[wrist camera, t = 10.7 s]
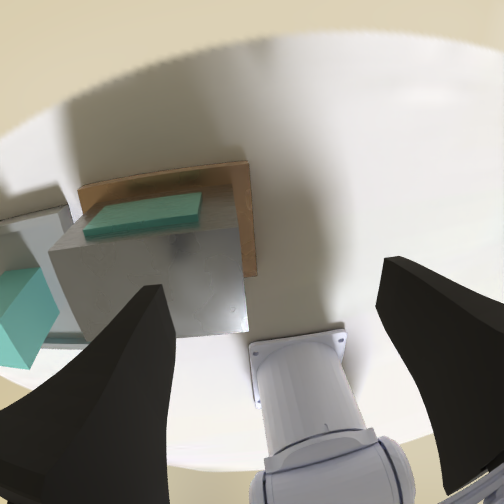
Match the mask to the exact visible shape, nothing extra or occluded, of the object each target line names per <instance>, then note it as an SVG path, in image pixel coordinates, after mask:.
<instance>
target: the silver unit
mask: <svg viewBox="0 0 504 504" xmlns="http://www.w3.org/2000/svg"><path fill="white" fill-rule="evenodd" d="M77 191H78V195H79V199H80V203H81V207H82V211H83V215H82V216H81V217H80V218H79V219H78V220H77V221H76V222H75V223H74V224H73V225H72V226H71V227H70V228H69V229H68V230H67V231H66V232H65V233H64V234H63V235H62V236H61V238H60V239H59V240H58V241H57V242H56V243H55V244H54V245H53V246H52V247H51V248H50V249H49V250H48V251H47V252H48V255H49V257H50V260H51V263H52V265H53V268H54V271H55V273H56V276H57V278H58V281H59V283H60V286H61V288H62V290H63V293H64V295H65V297H66V300H67V302H68V304H69V306H70V309H71V311H72V313H73V315H74V317H75V319H76V321H77V323H78V325H79V327H80V329H81V331H82V333H83V335H84V337H85V339H86V341H87V342H92V341H93V340H94V339H95V337H96V336H97V335H98V334H99V333H100V332H101V331H102V330H103V329H104V328H105V327H106V326H107V325H108V324H109V323H110V322H111V321H112V320H113V319H114V317H115V316H116V315H117V314H118V313H119V312H120V311H121V310H122V309H123V307H124V306H125V305H126V304H127V303H128V302H129V301H130V300H131V298H132V297H133V296H134V295H135V294H136V293H137V292H138V291H139V290H140V289H141V288H142V287H143V286H146V285H156V284H162V286H163V289H164V293H165V297H166V300H167V304H168V308H169V311H170V315H171V318H172V321H173V325H174V328H175V331H176V338H186V337H198V336H210V335H220V334H230V333H240V332H248V331H249V326H248V316H247V306H246V296H245V286H244V277H253V276H257V266H256V252H255V238H254V224H253V210H252V197H251V183H250V169H249V163H248V161H238V162H227V163H218V164H209V165H201V166H193V167H185V168H178V169H171V170H164V171H158V172H151V173H145V174H139V175H133V176H128V177H122V178H117V179H112V180H107V181H102V182H97V183H92V184H87V185H84V186H82V187H81V188H79V189H78V190H77Z"/></svg>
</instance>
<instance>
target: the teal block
mask: <svg viewBox="0 0 504 504" xmlns="http://www.w3.org/2000/svg"><path fill="white" fill-rule="evenodd" d="M59 313H60V311H59V309H58V307H57V305H56V303H55V301H54V298H53V296H52V294H51V291H50V289H49V287H48V284H47V282H46V280H45V277H44V275H43V272H42V270H41V267H36V268H28V269H19V270H11V271H5V272H4V273H3V274H2V275H1V276H0V366H6V367H13V368H20V369H28V370H30V368H31V366H32V364H33V362H34V360H35V358H36V356H37V354H38V352H39V350H40V348H41V346H42V344H43V342H44V340H45V338H46V337H47V335H48V333H49V331H50V329H51V327H52V326H53V324H54V322H55V320H56V319H57V317H58V315H59Z"/></svg>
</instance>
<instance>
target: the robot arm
mask: <svg viewBox="0 0 504 504" xmlns="http://www.w3.org/2000/svg"><path fill="white" fill-rule="evenodd" d="M375 307H376V309H377V312H378V314H379V317H380V319H381V322H382V324H383V326H384V328H385V331H386V332H387V334H388V336H389V337H390V339H391V341H392V343H393V344H394V346H395V348H396V349H397V351H398V353H399V355H400V356H401V358H402V360H403V361H404V363H405V365H406V367H407V368H408V370H409V372H410V374H411V375H412V377H413V379H414V381H415V383H416V385H417V387H418V389H419V392H420V394H421V397H422V399H423V402H424V405H425V407H426V410H427V413H428V416H429V419H430V422H431V426H432V429H433V432H434V436H435V440H436V444H437V448H438V453H439V458H440V464H441V471H442V479H443V487H444V489H445V492H446V494H447V495H448V496H449V495H450V494H452V493H454V492H456V491H458V490H459V489H461V488H463V487H464V486H466V485H468V484H469V483H471V482H472V481H474V480H476V479H477V478H479V477H480V476H482V475H483V474H485V473H486V472H488V471H489V473H488V474H487V475H485V476H484V477H482V478H481V479H479V480H478V481H476V482H475V483H473V484H471V485H470V486H469V487H467V488H465V489H463V490H462V491H460V492H458V493H456V494H455V495H453V496H451V497H449V498H447V499H446V500H444V501H442V502H440V503H438V504H477V503H478V502H480V501H481V500H483V499H484V498H485V499H484V502H483V504H504V304H503V303H501V302H498V301H495V300H493V299H490V298H488V297H485V296H483V295H481V294H479V293H476V292H474V291H472V290H470V289H468V288H466V287H464V286H462V285H460V284H458V283H456V282H454V281H452V280H450V279H448V278H446V277H444V276H442V275H440V274H438V273H436V272H434V271H432V270H430V269H428V268H426V267H424V266H422V265H420V264H418V263H416V262H413V261H411V260H409V259H406V258H404V257H401V256H395V257H388V258H384V263H383V269H382V275H381V280H380V286H379V291H378V296H377V301H376V306H375ZM346 339H347V332H346V330H345V329H338V330H332V331H327V332H321V333H315V334H309V335H302V336H296V337H289V338H282V339H275V340H267V341H259V342H253V343H251V344H250V345H249V355H250V364H251V373H252V381H253V390H254V398H255V406H256V408H257V409H262V414H263V420H264V427H265V433H266V440H267V446H268V452H269V457H267V458H264V464H265V470H264V471H259V472H257V473H256V475H255V477H254V479H253V480H252V481H251V483H250V488H249V503H250V504H414V499H415V494H416V490H415V482H414V477H413V473H412V470H411V467H410V464H409V461H408V459H407V457H406V455H405V453H404V451H403V449H402V448H401V446H400V445H399V444H398V443H397V442H396V441H394V440H392V439H390V438H389V437H387V436H382V437H379V438H377V437H376V434H375V432H374V429H373V428H368V429H367V427H366V425H365V422H364V420H363V417H362V415H361V412H360V409H359V407H358V404H357V402H356V399H355V397H354V394H353V392H352V390H351V387H350V385H349V382H348V380H347V377H346V375H345V372H344V370H343V368H342V360H343V355H344V350H345V345H346ZM255 352H256V353H255ZM175 354H176V331H175V328H174V325H173V321H172V318H171V315H170V311H169V308H168V304H167V300H166V297H165V293H164V289H163V286H162V284H156V285H146V286H143V287H142V288H141V289H140V290H139V291H138V292H137V293H136V294H135V295H134V296H133V297H132V298H131V300H130V301H129V302H128V303H127V304H126V305H125V306H124V307H123V309H122V310H121V311H120V312H119V313H118V314H117V315H116V316H115V317H114V319H113V320H112V321H111V322H110V323H109V324H108V325H107V326H106V327H105V328H104V329H103V330H102V331H101V332H100V333H99V334H98V335H97V336H96V337H95V339H94V340H93V341H92V342H91V343H90V344H89V345H88V346H87V347H86V348H85V349H84V350H83V351H82V352H80V353H79V354H78V355H77V356H76V357H75V358H74V359H73V360H72V361H70V362H69V363H68V364H67V365H66V366H65V367H64V368H62V369H61V370H60V371H59V372H57V373H56V374H55V375H53V376H52V377H51V378H49V379H48V380H47V381H45V382H44V383H43V384H41V385H40V386H39V387H37V388H36V389H35V390H33V391H32V392H30V393H29V394H27V395H26V396H24V397H23V398H21V399H19V400H18V401H16V402H14V403H13V404H11V405H9V406H8V407H6V408H4V409H2V410H0V496H1V497H2V498H4V499H6V500H7V501H8V502H7V504H170V502H169V501H170V500H169V490H168V478H167V458H166V427H167V415H168V408H169V401H170V393H171V387H172V380H173V373H174V366H175Z"/></svg>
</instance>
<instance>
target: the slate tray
mask: <svg viewBox="0 0 504 504" xmlns="http://www.w3.org/2000/svg"><path fill="white" fill-rule="evenodd" d="M72 225H73V221H72V217H71V213H70V210H69V206H68V205H63V206H58V207H54V208H49V209H45V210H41V211H36V212H32V213H28V214H24V215H20V216H16V217H12V218H8V219H5V220H1V221H0V276H1V275H2V274H3V273H4V272H5V271H11V270H19V269H28V268H36V267H41V270H42V272H43V275H44V277H45V280H46V282H47V284H48V287H49V289H50V291H51V294H52V296H53V298H54V301H55V303H56V305H57V307H58V309H59V311H60V313H59V315H58V317H57V319H56V320H55V322H54V324H53V326H52V327H51V329H50V331H49V333H48V335H47V337H46V338H45V340H44V342H43V344H42V346H41V348H44V349H80V350H84V349H85V348H86V347H87V346H88V345H89V344H90V343H91V342H87V341H86V339H85V337H84V335H83V333H82V331H81V329H80V327H79V325H78V323H77V321H76V319H75V317H74V315H73V313H72V311H71V309H70V306H69V304H68V302H67V300H66V297H65V295H64V293H63V290H62V288H61V286H60V283H59V281H58V278H57V276H56V273H55V271H54V268H53V265H52V263H51V260H50V257H49V255H48V252H47V251H48V250H49V249H50V248H51V247H52V246H53V245H54V244H55V243H56V242H57V241H58V240H59V239H60V238H61V236H62V235H63V234H64V233H65V232H66V231H67V230H68V229H69V228H70V227H71V226H72Z"/></svg>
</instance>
